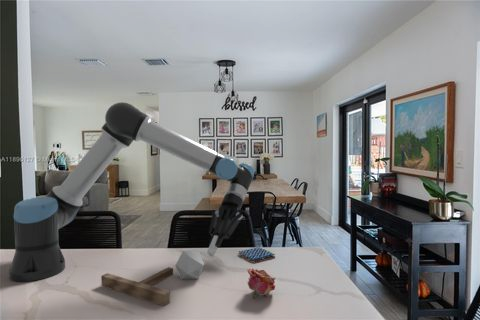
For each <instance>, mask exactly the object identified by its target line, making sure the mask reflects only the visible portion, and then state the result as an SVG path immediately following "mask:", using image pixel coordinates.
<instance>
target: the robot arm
mask: <svg viewBox="0 0 480 320" xmlns="http://www.w3.org/2000/svg"><path fill="white" fill-rule="evenodd" d="M133 141H135V142H139V141H142V142H145V144H149V145H150V146H152V147H154V148H157V149H159V150H162V151H163V152H165V153H168V154H170V155H172V156H173V157H176V158H178V159H181V160H183V161H185V162H186V163H189V164H191V165H193V166H194V167H195V166H196V167H197V168H200V169H202V170H203V171H204V170H205V171H206V172H208V173H210V174H213V175H215V176H217V177H218V178H219V179H221V180H226V181H227V182H229V185H228V187H227V190H226V192H225V195H224V197H223V198H222V200H221V205H220V206H219V208H218V209H217V210H214V209H212V210H211V220H210V225H209V229H208V233H209V234H210V236H211V237H210V240H209V242H208V243H209V246H208V248H207V251H206V253H207V254H208V255H209V257H211V258H214V257H215V255H216V253H217V250H218V248H220V247H221V244H222V242H224V241H223V240H224V239H226V240H227V239H230V237H231V236H232V235H233V233H234V231H235V229H236V228H237V227H238V225H239V224H240V222H241V221H242V220H244V216H243V214H242V212H241V211H240V210H241V208H242V206H243V204H244V201H245V199H246V196H247V195H248V194H247V193H248V191H249V189H250V186H251V184H252V182H253V179H254V176H255V169H254V167H253V166H252V165H251V164H249V163H246V162H241V163H239V164H237V163H236V161H235V160H234V159H233V158H230V157H227V156H225V155H224V154H221V153H219V152H217V151H216V150H213V149H211V148H209V147H207V146H206V145H203V144H201V143H198V142H196V141H195V140H193V139H190V138H189V137H187V136H184V135H182V134H180V133H178V132H176V131H174V130H172V129H170V128H168V127H166V126H164V125H162V124H160V123H157V122H155V121H154V120H152V119H151V117H150V116H149V115H148V114H146V113H144V112H142V111H141V110H139V109H138V108H136V107H135V106H134V105H133V104H131V103H128V102H117V103H114V104H112V105H111V106H110V107H109V108H108V109H107V110H106V113H105V123H104V124H103V125H102V127H101V135H100V136H99V137H98V139H97V140H96V141H95V142H94V144H93V145H92V146H91V147H90V148H89V150H88V151H87V152H86V154H85V155H84V156H83V157H82V159H81V160H80V161H79V162H78V163H77V165H76V166H75V167H74V169H72V171H71V172H70V173H69V175H68V176H66V178H65V180H63V182H62V183H61V185H55V186H53V187H52V189H50V191H49V192H48V193H47V195H46V196H39V197H38V196H37V197H31V198H28V199H23V200H21V201H19V202H17V203H16V204H15V206H14V208H13V209H14V212H13V221H14V223H13V225H14V246H15V251H14V255H13V258H12V261H11V265H10V267H9V270H8V273H9V274H8V276H9V277H8V278H9V279H10V281H13V282H32V281H33V282H34V281H38V280H43V279H46V278H49V277H53V276H55V275H58V274H59V273H61V272H63V271H64V270H65V269H66V259H65V256H64V254H63V252H62V249H61V247H60V245H59V243H60V242H59V230H60V229H61V228H63V227H65V226H68V225H69V224H70V223H71V222H72V221H73V220H74V219H75V218H76V216H77V213H78V211H79V210H80V209H81V207H83V203H84V202H83V198H84V196H86V194H87V193H88V192H89V190H90V189H91V188H92V186H93V185H94V184H95V183H96V181H97V180H98V179H99V177H100V176H101V175H102V174H103V173H104V171H105V170H106V169H107V168H108V167H109V165H110V164H111V163H112V161H113V160H114V159H115V158H116V156H117V155H118V154H119V152H120V151H121V150H122V149H124V148H129V147H130V146H131V144H132V143H133Z"/></svg>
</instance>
